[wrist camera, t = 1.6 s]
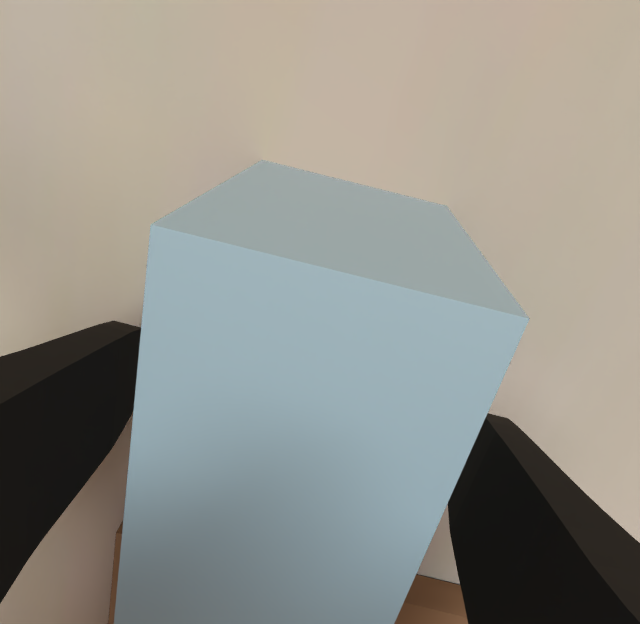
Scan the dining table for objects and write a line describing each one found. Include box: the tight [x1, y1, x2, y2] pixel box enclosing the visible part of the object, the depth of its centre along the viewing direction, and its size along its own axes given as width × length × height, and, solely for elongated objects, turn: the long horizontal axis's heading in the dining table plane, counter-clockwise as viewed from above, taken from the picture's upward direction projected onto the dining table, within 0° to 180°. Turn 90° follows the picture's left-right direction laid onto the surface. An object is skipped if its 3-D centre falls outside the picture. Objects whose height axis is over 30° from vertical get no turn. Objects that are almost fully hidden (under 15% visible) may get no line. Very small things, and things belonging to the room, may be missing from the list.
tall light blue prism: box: [114, 160, 529, 624], centre depth 10 cm, size 4×9×6 cm, turn 167°
